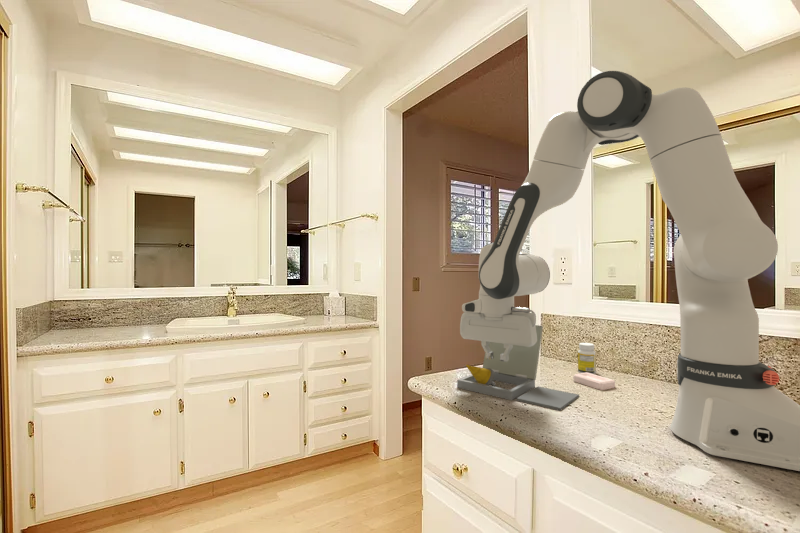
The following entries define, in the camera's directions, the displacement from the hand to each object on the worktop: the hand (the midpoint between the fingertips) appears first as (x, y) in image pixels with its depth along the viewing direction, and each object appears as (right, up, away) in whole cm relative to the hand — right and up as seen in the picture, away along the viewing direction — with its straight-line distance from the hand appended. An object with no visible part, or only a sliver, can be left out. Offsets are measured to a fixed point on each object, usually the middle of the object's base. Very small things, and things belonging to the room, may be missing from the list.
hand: (496, 359), depth 104 cm
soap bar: (+26, -8, +2) cm, 27 cm away
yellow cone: (0, -7, 0) cm, 7 cm away
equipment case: (+2, -7, +3) cm, 8 cm away
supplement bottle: (+29, -7, +14) cm, 33 cm away
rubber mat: (+10, -7, -9) cm, 15 cm away
